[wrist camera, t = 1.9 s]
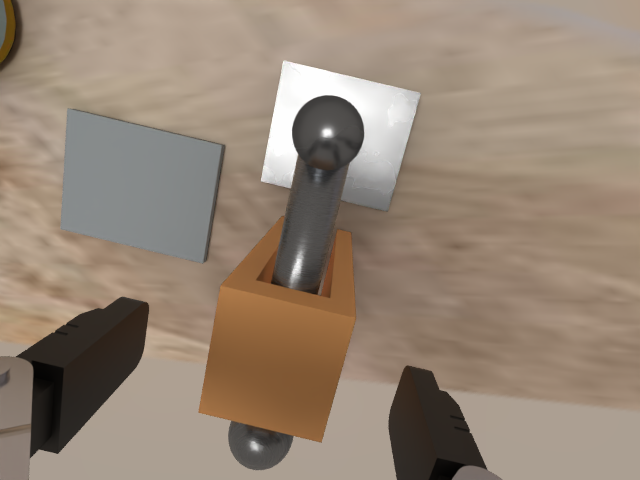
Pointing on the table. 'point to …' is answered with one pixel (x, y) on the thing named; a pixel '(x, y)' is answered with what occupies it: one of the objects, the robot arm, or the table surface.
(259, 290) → the link
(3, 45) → the bottle
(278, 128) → the stand
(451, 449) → the robot arm
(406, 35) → the table surface
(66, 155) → the mat
